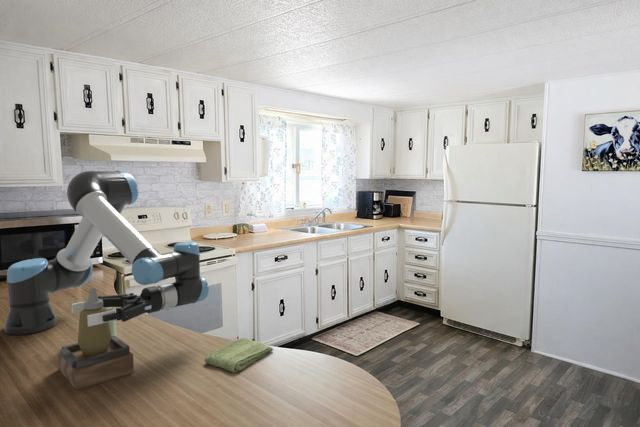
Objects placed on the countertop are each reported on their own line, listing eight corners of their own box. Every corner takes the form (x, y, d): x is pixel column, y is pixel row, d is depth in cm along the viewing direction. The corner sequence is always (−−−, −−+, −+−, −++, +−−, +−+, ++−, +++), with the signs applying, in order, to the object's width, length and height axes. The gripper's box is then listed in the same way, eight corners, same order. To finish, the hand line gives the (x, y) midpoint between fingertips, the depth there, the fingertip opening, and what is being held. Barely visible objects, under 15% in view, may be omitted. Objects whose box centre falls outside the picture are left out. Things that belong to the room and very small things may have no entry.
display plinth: (59, 369, 117) (57, 346, 116) (112, 354, 126) (111, 333, 126) (76, 390, 105) (75, 365, 105) (133, 371, 115) (132, 348, 115)
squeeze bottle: (86, 347, 119) (83, 284, 118) (116, 346, 120) (114, 284, 118) (72, 359, 111) (69, 292, 110) (104, 358, 112) (102, 292, 110)
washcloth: (275, 352, 129) (275, 342, 129) (236, 376, 114) (236, 364, 113) (242, 343, 135) (241, 334, 135) (200, 365, 120) (200, 354, 120)
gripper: (178, 320, 119) (96, 341, 104) (141, 301, 136) (67, 317, 121) (177, 294, 118) (94, 311, 103) (140, 278, 135) (65, 291, 121)
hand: (79, 314), depth 112 cm, fingers open, 13 cm apart
